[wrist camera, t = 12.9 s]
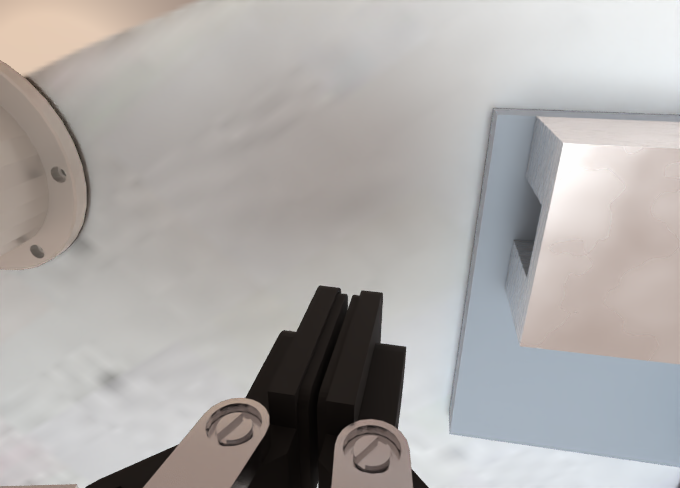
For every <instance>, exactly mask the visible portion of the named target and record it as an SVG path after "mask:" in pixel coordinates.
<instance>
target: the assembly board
mask: <svg viewBox="0 0 680 488" xmlns="http://www.w3.org/2000/svg"><path fill="white" fill-rule="evenodd" d="M536 116H541V117H567V118H592V119H617V120H643V121H668V122H680V115H664V114H637V113H610V112H583V111H556V110H529V109H502V108H494V109H493V115H492V122H491V129H490V136H489V143H488V150H487V157H486V164H485V170H484V177H483V184H482V191H481V198H480V205H479V212H478V219H477V225H476V232H475V239H474V246H473V253H472V260H471V267H470V274H469V280H468V287H467V294H466V301H465V308H464V315H463V322H462V329H461V335H460V342H459V349H458V356H457V363H456V370H455V377H454V383H453V390H452V397H451V404H450V411H449V429H450V434H453V435H460V436H467V437H474V438H481V439H488V440H495V441H502V442H508V443H515V444H522V445H529V446H536V447H543V448H550V449H557V450H564V451H571V452H577V453H584V454H591V455H598V456H605V457H612V458H619V459H626V460H633V461H639V462H646V463H653V464H660V465H667V466H674V467H680V364H671V363H662V362H654V361H645V360H636V359H627V358H618V357H610V356H601V355H592V354H583V353H574V352H566V351H557V350H548V349H539V348H530V347H521V346H520V345H519V342H518V338H517V334H516V330H515V326H514V322H513V318H512V314H511V310H510V306H509V302H508V299H507V295H506V291H505V283H506V278H507V272H508V267H509V262H510V256H511V251H512V245H513V240H519V241H532V242H534V241H535V236H536V232H537V227H538V222H539V217H540V212H541V208H542V205H541V203H540V201H539V200H538V198H537V196H536V194H535V193H534V191H533V189H532V187H531V185H530V184H529V182H528V180H527V178H526V177H525V175H526V170H527V165H528V159H529V154H530V149H531V143H532V138H533V132H534V127H535V122H536Z"/></svg>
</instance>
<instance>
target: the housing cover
mask: <svg viewBox="0 0 680 488" xmlns="http://www.w3.org/2000/svg"><path fill="white" fill-rule="evenodd" d="M525 177H526V178H527V180H528V182H529V184H530V185H531V187H532V189H533V191H534V193H535V194H536V196H537V198H538V200H539V201H540V203H541V205H542V208H541V212H540V217H539V222H538V227H537V232H536V236H535V241H534V242H532V241H519V240H513V245H512V251H511V256H510V262H509V267H508V272H507V278H506V283H505V291H506V295H507V299H508V302H509V306H510V310H511V314H512V318H513V322H514V326H515V330H516V334H517V338H518V342H519V345H520V346H521V347H530V348H539V349H548V350H557V351H566V352H574V353H583V354H592V355H601V356H610V357H618V358H627V359H636V360H645V361H654V362H662V363H671V364H680V122H668V121H643V120H617V119H592V118H567V117H541V116H536V122H535V127H534V132H533V138H532V143H531V149H530V154H529V159H528V165H527V170H526V175H525Z"/></svg>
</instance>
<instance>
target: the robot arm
mask: <svg viewBox="0 0 680 488" xmlns="http://www.w3.org/2000/svg"><path fill="white" fill-rule="evenodd" d="M86 207H87V191H86V182H85V177H84V172H83V166H82V163H81V160H80V158H79V155H78V152H77V150H76V147H75V144H74V142H73V140H72V138H71V136H70V135H69V133H68V131H67V129H66V127H65V125H64V124H63V122H62V120H61V119H60V117H59V116H58V115H57V113H56V112H55V111H54V109H53V108H52V107H51V105H50V104H49V103H48V101H47V100H46V99H45V98H44V97H43V96H42V95H41V94H40V93H39V92H38V91H37V89H36V88H35V87H34V86H33V85H32V84H31V83H30V82H29V81H28V80H27V79H25V78H24V77H23V76H21V75H20V74H19V73H18V72H16V71H15V70H14V69H12V68H11V67H10V66H9V65H7V64H6V63H4V62H2V61H0V269H4V270H24V269H29V268H33V267H38V266H40V265H42V264H44V263H46V262H48V261H50V260H52V259H53V258H55V257H56V256H58V255H59V254H61V253H62V252H63V251H65V250H66V249H67V248H68V247H69V246H70V245H71V244H72V242H73V241H74V240H75V239H76V238H77V235H78V233H79V231H80V229H81V227H82V225H83V222H84V217H85V212H86ZM382 305H383V293H380V292H371V291H361V293H360V296H358V295H353V296H352V299H351V302H350V305H349V308H348V296H347V294H341V289H340V288H336V287H327V286H319V287H318V288H317V290H316V293H315V295H314V297H313V299H312V301H311V303H310V305H309V307H308V309H307V311H306V313H305V315H304V317H303V319H302V321H301V323H300V325H299V328H298V330H297V332H292V331H285V330H284V331H282V332H281V333H280V334H279V336H278V338H277V340H276V342H275V344H274V345H273V347H272V349H271V351H270V353H269V355H268V357H267V359H266V360H265V362H264V364H263V366H262V368H261V370H260V372H259V374H258V375H257V377H256V379H255V381H254V383H253V385H252V387H251V388H250V390H249V392H248V394H247V396H246V398H234V399H229V400H226V401H222V402H220V403H218V404H216V405H215V406H213V407H211V408H210V409H209V410H208V411H207V412H206V413H205V414H204V415H203V416H202V417H201V418H200V420H199V421H198V422H197V423H196V424H195V426H194V427H193V428H192V429H191V430H190V432H189V433H188V434H187V435H186V436H185V438H184V439H183V440H182V441H181V443H180V444H178V445H176V446H174V447H172V448H169V449H167V450H165V451H163V452H160V453H158V454H156V455H154V456H151V457H149V458H147V459H144V460H142V461H140V462H138V463H135V464H133V465H131V466H129V467H126V468H124V469H122V470H120V471H117V472H115V473H113V474H111V475H108V476H106V477H104V478H101V479H99V480H97V481H96V482H94V483H92V484H90V485H89V486H87V487H86V488H316V487H317V484H318V487H319V488H428V486H427V485H426V484H425V483H424V482H423V481H422V480H421V479H420V478H419V477H418V475H417V474H416V473H415V472H414V471H413V470H412V469H411V460H410V450H409V446H408V442H407V440H406V438H405V437H404V435H403V434H402V433H401V432H400V431H399V430H398V423H399V415H400V407H401V398H402V389H403V380H404V369H405V357H406V347H404V346H396V345H389V344H381V343H380V341H381V323H382ZM0 488H78V486H77V484H70V485H34V486H0Z"/></svg>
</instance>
